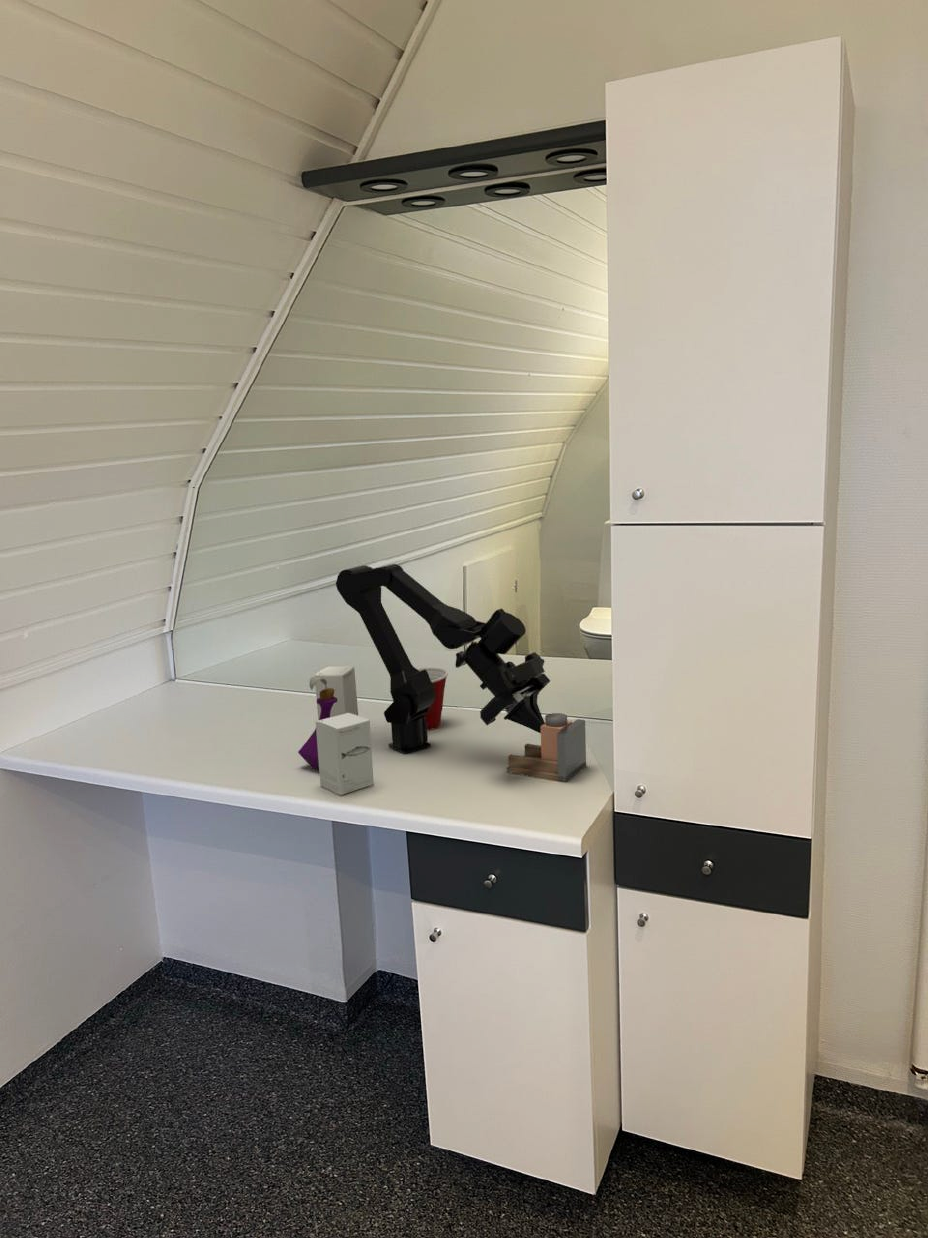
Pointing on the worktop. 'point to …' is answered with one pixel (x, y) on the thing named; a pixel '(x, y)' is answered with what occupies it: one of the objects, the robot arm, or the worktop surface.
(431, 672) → the plastic cup
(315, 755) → the perfume bottle
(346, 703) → the skincare box
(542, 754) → the knob slider
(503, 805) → the worktop surface
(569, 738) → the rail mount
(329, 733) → the supplement box
